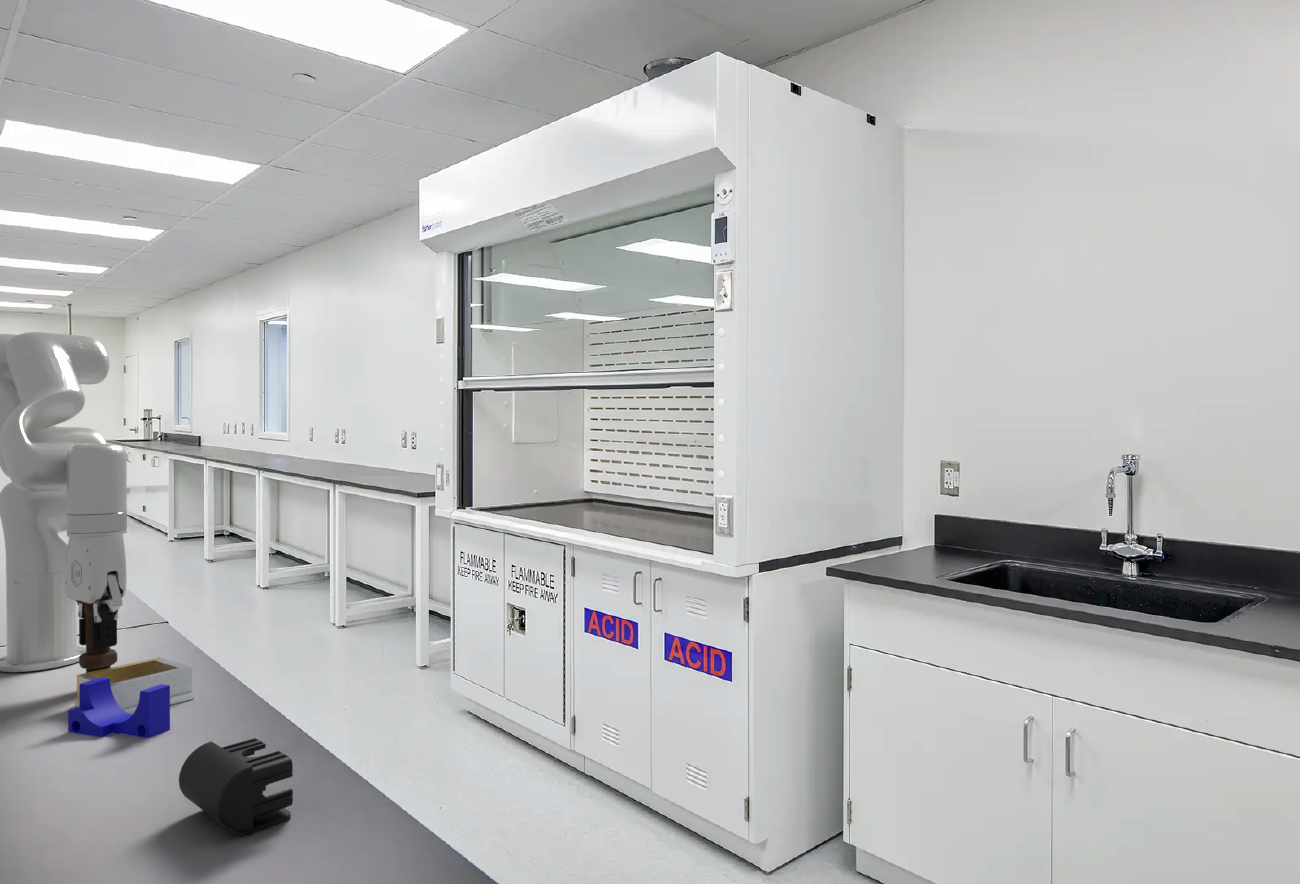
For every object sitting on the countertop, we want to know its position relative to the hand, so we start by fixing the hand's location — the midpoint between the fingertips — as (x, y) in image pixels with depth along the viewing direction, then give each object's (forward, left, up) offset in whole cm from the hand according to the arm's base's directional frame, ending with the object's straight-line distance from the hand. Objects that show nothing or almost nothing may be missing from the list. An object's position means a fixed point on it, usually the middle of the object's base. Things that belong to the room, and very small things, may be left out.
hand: (98, 644), depth 121 cm
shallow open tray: (+12, 0, -7) cm, 14 cm away
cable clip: (+23, -6, -7) cm, 24 cm away
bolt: (0, 0, -7) cm, 7 cm away
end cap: (+59, -11, -7) cm, 60 cm away
